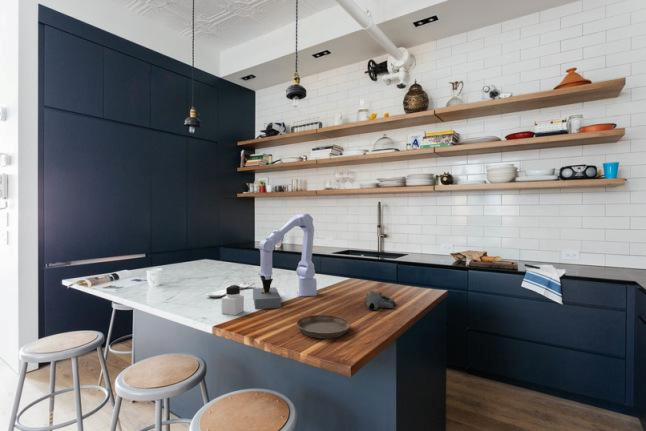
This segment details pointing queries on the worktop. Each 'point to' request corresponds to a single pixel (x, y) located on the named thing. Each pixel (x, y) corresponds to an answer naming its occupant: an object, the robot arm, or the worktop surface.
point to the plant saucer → (323, 326)
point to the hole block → (266, 298)
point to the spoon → (223, 292)
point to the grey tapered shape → (378, 301)
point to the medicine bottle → (232, 301)
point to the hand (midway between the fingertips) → (266, 291)
